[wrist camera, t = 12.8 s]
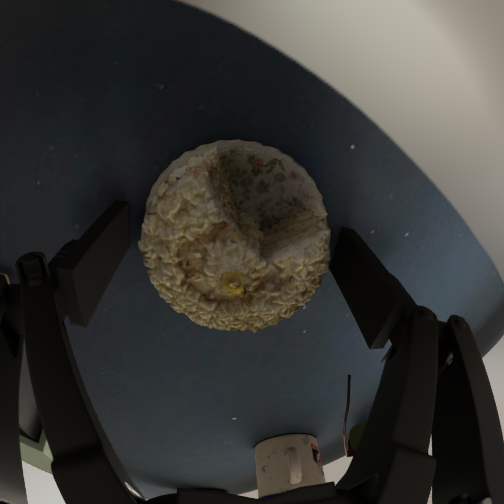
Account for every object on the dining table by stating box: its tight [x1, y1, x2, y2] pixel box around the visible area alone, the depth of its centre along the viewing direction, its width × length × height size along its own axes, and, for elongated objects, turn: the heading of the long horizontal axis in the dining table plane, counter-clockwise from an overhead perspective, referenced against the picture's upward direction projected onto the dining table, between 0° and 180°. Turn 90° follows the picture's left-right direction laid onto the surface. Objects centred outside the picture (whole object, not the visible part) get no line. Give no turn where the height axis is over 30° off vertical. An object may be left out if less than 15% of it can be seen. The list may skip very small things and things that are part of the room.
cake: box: [138, 139, 331, 333], centre depth 13 cm, size 10×10×5 cm
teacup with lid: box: [254, 434, 326, 499], centre depth 26 cm, size 12×9×12 cm
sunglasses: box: [343, 375, 367, 457], centre depth 25 cm, size 14×15×5 cm
